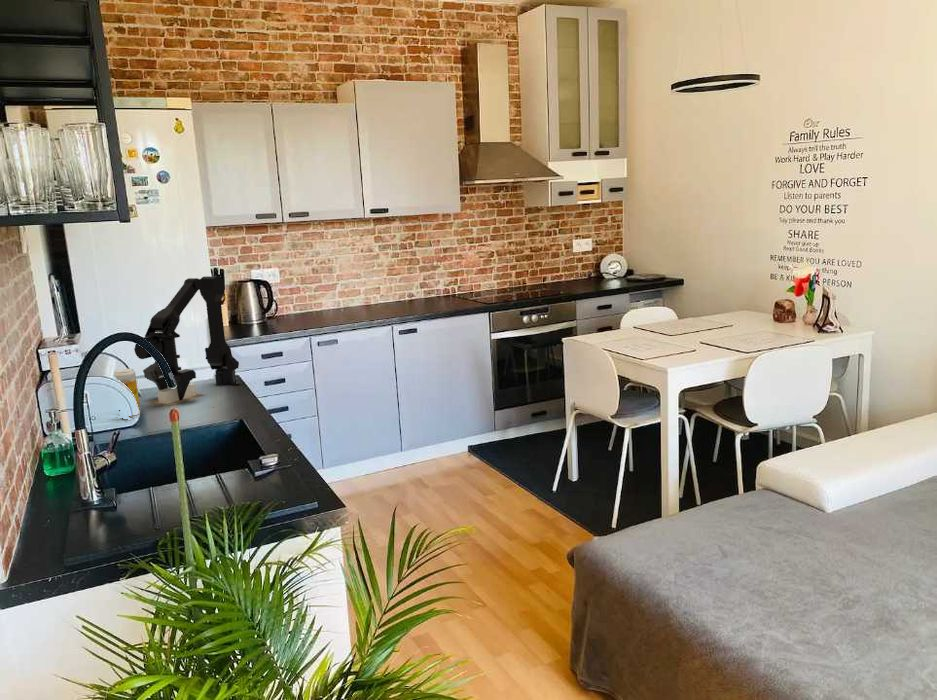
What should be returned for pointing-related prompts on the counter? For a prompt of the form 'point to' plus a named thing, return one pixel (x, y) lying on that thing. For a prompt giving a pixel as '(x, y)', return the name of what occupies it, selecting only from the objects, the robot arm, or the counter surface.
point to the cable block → (175, 394)
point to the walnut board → (175, 401)
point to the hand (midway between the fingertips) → (172, 399)
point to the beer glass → (128, 381)
